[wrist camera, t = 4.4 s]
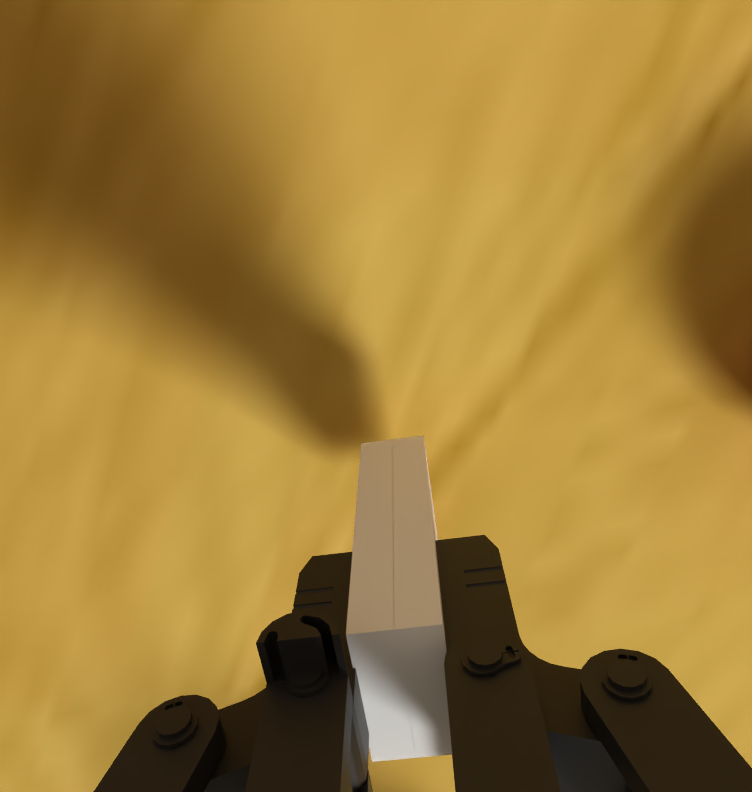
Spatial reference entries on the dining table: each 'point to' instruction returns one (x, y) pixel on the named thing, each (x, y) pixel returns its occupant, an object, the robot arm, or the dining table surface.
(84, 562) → the dining table surface
